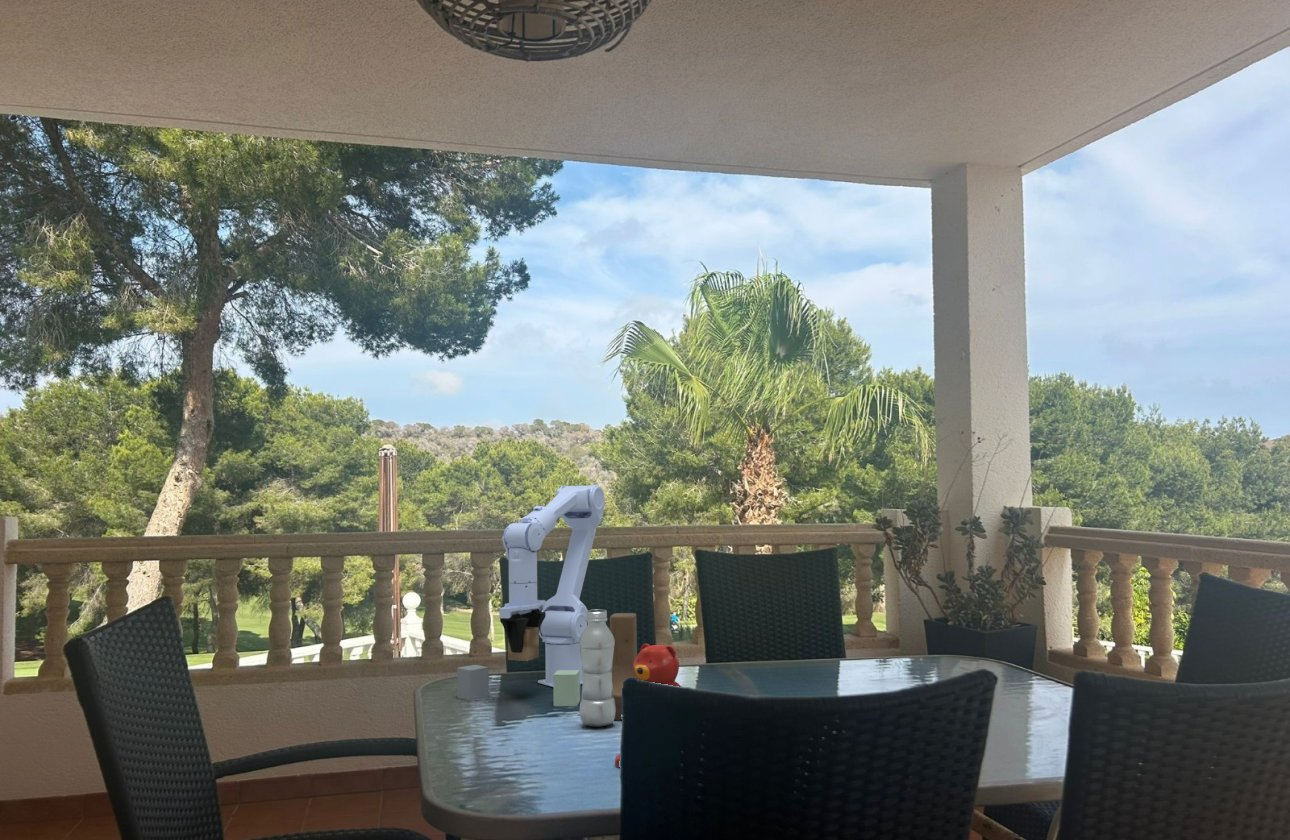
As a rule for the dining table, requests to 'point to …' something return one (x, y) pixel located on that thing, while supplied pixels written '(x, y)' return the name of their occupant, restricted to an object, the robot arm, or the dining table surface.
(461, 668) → the grey block
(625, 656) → the wooden block
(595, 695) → the plastic bottle
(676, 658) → the stacking bear
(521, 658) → the walnut block
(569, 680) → the sage block
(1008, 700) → the dining table surface
